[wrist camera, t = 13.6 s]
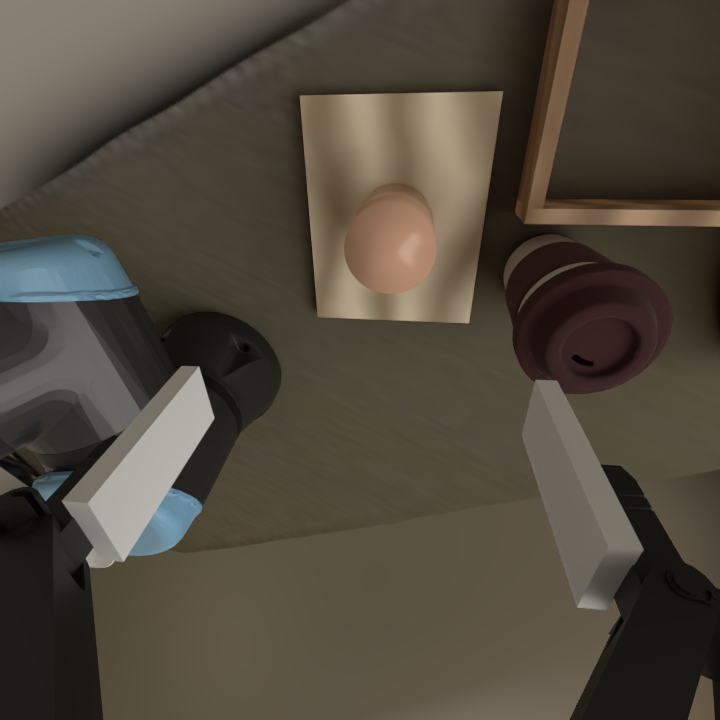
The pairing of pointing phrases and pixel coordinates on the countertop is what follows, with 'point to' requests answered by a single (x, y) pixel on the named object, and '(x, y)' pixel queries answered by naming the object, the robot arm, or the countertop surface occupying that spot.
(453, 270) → the board
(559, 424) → the robot arm
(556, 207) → the cold frame
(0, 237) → the countertop surface
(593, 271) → the coffee cup
